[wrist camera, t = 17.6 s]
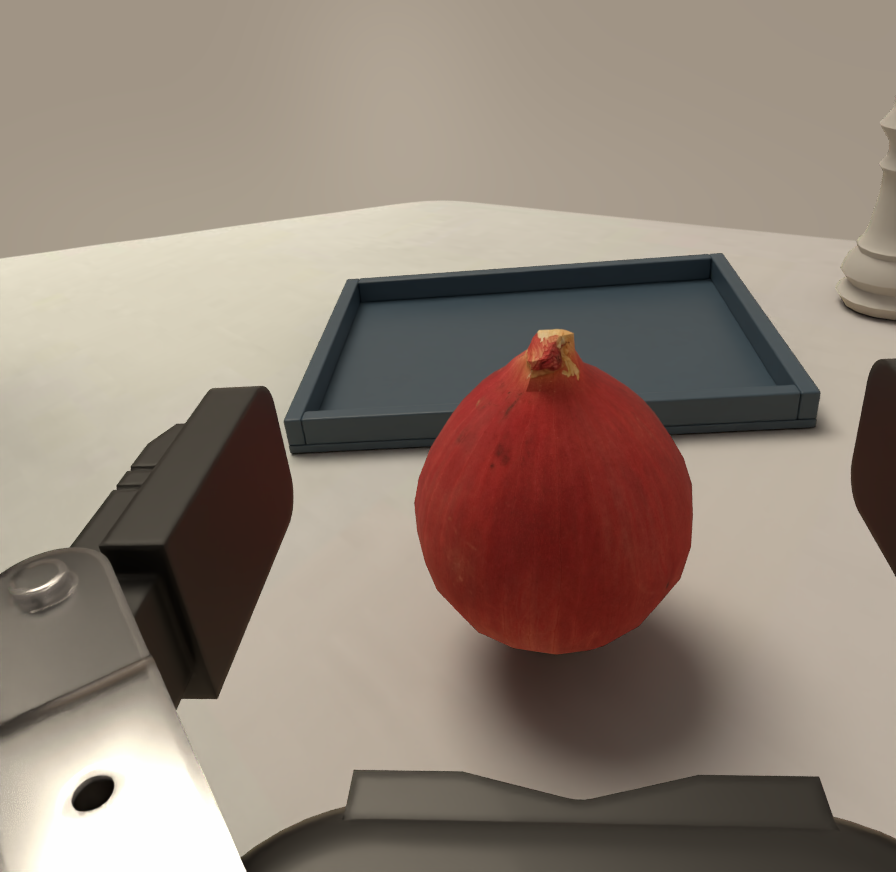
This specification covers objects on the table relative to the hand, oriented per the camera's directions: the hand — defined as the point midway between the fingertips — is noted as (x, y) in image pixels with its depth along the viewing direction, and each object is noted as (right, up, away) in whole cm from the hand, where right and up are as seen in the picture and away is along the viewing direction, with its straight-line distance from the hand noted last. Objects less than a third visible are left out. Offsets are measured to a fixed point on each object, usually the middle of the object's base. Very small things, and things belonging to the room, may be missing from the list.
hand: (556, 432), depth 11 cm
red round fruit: (+1, -5, +8) cm, 10 cm away
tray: (+2, +3, +21) cm, 22 cm away
